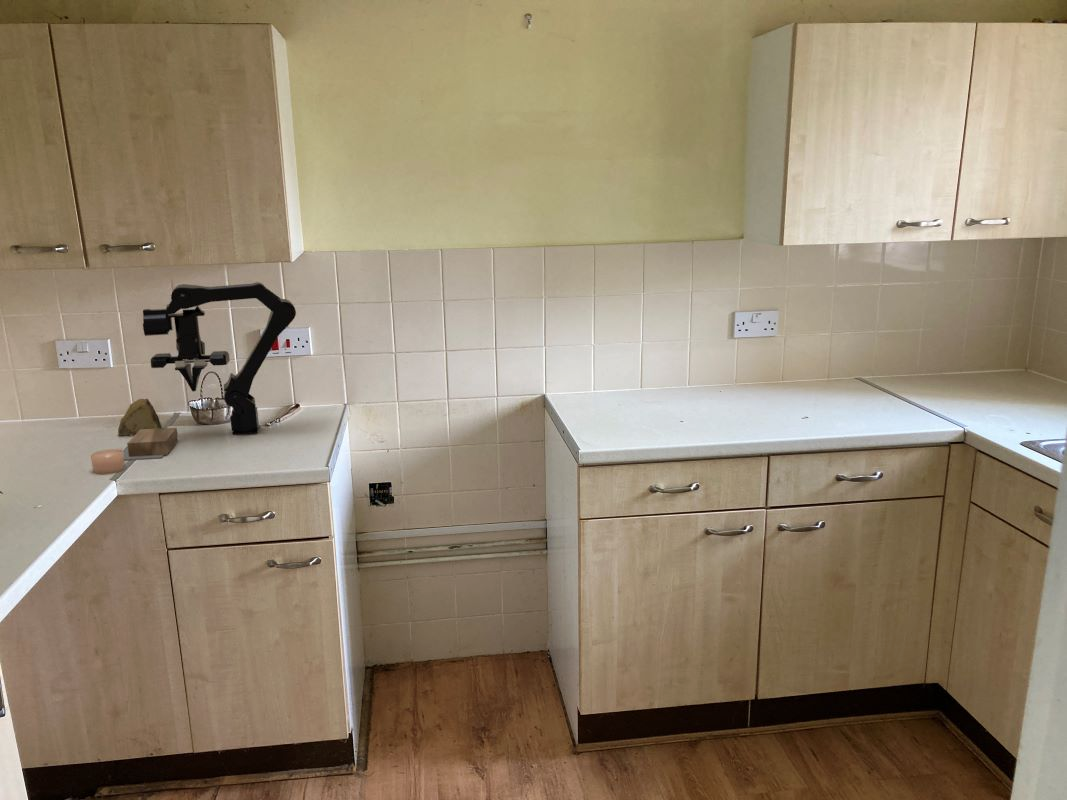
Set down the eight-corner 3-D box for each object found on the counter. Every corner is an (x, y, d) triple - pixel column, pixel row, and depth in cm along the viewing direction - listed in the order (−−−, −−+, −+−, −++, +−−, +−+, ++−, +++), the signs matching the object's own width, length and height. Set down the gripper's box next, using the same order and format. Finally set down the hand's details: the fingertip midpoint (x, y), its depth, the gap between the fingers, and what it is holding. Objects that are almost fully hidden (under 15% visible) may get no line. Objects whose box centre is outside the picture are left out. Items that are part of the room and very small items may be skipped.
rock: (108, 431, 223) (145, 426, 223) (109, 402, 227) (146, 396, 227) (128, 444, 233) (164, 439, 233) (129, 416, 237) (165, 411, 237)
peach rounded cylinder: (128, 463, 205) (126, 448, 204) (120, 473, 199) (118, 457, 198) (98, 465, 204) (96, 450, 203) (88, 475, 197) (86, 459, 196)
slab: (176, 427, 221) (140, 429, 220) (165, 441, 210) (127, 443, 208) (177, 440, 222) (141, 442, 221) (167, 454, 211) (129, 456, 209)
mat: (176, 439, 224) (176, 438, 224) (161, 458, 209) (161, 457, 209) (132, 441, 222) (132, 440, 222) (114, 461, 207) (114, 459, 207)
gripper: (230, 326, 229) (235, 382, 233) (157, 329, 226) (164, 385, 230) (222, 334, 218) (228, 392, 222) (146, 336, 215) (154, 395, 219)
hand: (194, 391), depth 224 cm, fingers closed
